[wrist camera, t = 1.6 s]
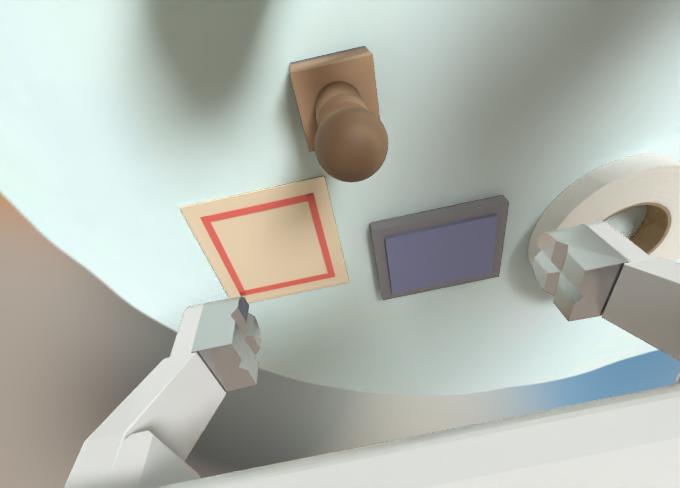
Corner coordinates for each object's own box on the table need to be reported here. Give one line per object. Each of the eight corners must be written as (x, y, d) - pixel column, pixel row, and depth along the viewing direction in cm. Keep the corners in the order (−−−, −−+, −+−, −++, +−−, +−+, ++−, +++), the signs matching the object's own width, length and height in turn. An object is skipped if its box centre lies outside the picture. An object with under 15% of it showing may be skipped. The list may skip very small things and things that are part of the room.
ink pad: (502, 195, 31) (510, 203, 30) (493, 268, 37) (500, 278, 36) (369, 223, 32) (372, 232, 31) (380, 291, 37) (383, 302, 36)
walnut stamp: (364, 45, 23) (407, 91, 14) (373, 120, 26) (413, 195, 18) (290, 62, 23) (287, 118, 15) (308, 135, 26) (314, 216, 18)
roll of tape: (559, 156, 30) (580, 171, 28) (724, 147, 31) (757, 161, 29) (507, 287, 40) (520, 306, 37) (636, 276, 41) (656, 294, 38)
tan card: (324, 175, 29) (324, 177, 28) (348, 280, 36) (349, 282, 36) (180, 207, 29) (179, 208, 29) (234, 304, 36) (233, 306, 36)
